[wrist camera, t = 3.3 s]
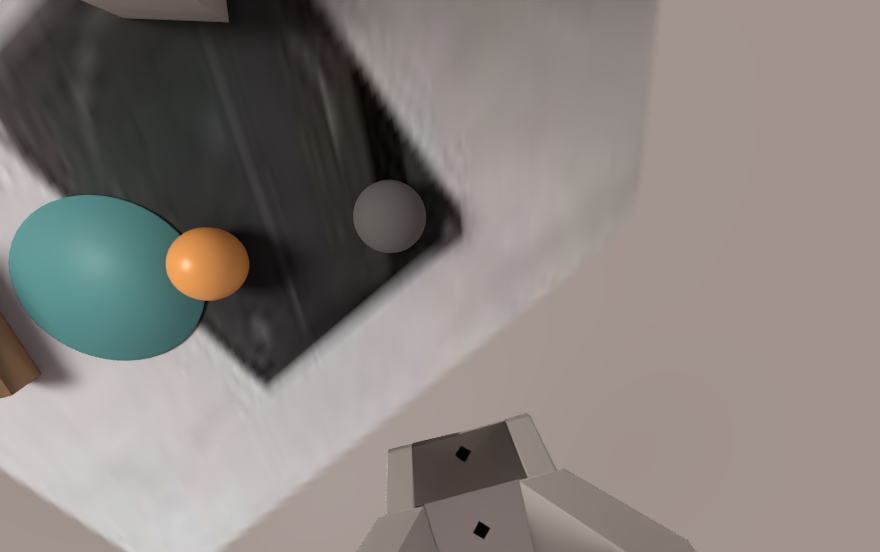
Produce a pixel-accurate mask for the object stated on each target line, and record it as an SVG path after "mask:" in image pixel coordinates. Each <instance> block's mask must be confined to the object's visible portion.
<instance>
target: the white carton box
mask: <svg viewBox="0 0 880 552" xmlns="http://www.w3.org/2000/svg"><path fill="white" fill-rule="evenodd" d="M82 1H84V2H87V3H89V4H91V5H94V6H96V7H98V8H101V9H103V10H105V11H108V12H110V13H112V14H115V15H117V16H120V17H122V18H132V19H158V20H184V21H210V22H229V18H228V10H227V3H226V0H82Z"/></svg>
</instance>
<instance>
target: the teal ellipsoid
mask: <svg viewBox="0 0 880 552" xmlns="http://www.w3.org/2000/svg"><path fill="white" fill-rule="evenodd" d="M179 236H181V235H180V234H179V233H178V231H177V230H176V229H174V228H173V227H172V226H171V225H170V224H169V223H168V222H166V221H165V220H163V219H162V218H161V217H159V216H158V215H156V214H155V213H153V212H151V211H149V210H147V209H146V208H144V207H141V206H139V205H137V204H134V203H132V202H129V201H126V200H122V199H119V198H114V197H109V196H102V195H78V196H72V197H66V198H62V199H59V200H56V201H53V202H50V203H48V204H46V205H44V206H42V207H40V208H39V209H38V210H36V211H35V212H33V213H32V214H31V215H30V216H29V217H28V218H27V219H26V220H25V221H24V222H23V223H22V225H21V226H20V227H19V229H18V230H17V232H16V234H15V236H14V239H13V241H12V244H11V248H10V253H9V272H10V277H11V281H12V285H13V288H14V290H15V293H16V295H17V297H18V299H19V301H20V303H21V304H22V306H23V307H24V309H25V310H26V312H27V313H28V314H29V316H30V317H31V318H32V319H33V320H34V321H35V322H36V323H37V324H38V325H39V326H40V327H41V328H42V329H43V330H44V331H46V332H47V333H48V334H49V335H51V336H52V337H53V338H55V339H56V340H58V341H59V342H61V343H63V344H65V345H67V346H68V347H70V348H73V349H75V350H77V351H79V352H82V353H85V354H88V355H91V356H95V357H99V358H103V359H110V360H140V359H145V358H150V357H153V356H156V355H159V354H162V353H164V352H166V351H168V350H170V349H172V348H174V347H175V346H177V345H178V344H180V343H181V342H182V341H183V340H184V339H185V338H186V337H187V336H188V335H189V334H190V333H191V332H192V330H193V329H194V328H195V326H196V324H197V323H198V321H199V319H200V316H201V314H202V311H203V307H204V303H205V301H204V300H198V299H194V298H191V297H189V296H187V295H185V294H183V293H182V292H180V291H179V290H178V289H177V288H176V287H175V286H174V285H173V284H172V282H171V281H170V279H169V277H168V275H167V271H166V256H167V253H168V250H169V248H170V246H171V245H172V243H173V242H174V241H175V240H176V239H177V238H178V237H179Z"/></svg>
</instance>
